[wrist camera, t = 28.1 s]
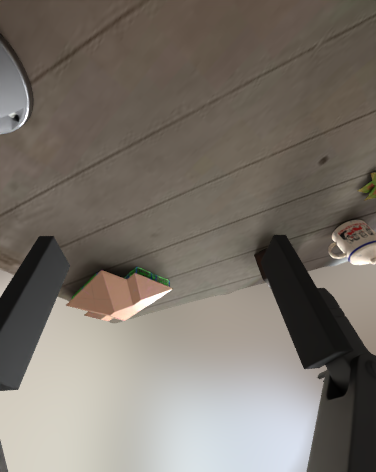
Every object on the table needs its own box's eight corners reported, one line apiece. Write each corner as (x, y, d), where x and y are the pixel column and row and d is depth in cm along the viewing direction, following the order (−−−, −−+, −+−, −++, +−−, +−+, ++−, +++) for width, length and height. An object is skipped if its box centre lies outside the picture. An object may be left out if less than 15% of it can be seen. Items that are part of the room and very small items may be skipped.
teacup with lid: (365, 213, 54) (401, 245, 46) (365, 232, 60) (396, 264, 52) (318, 232, 58) (342, 264, 50) (321, 249, 64) (344, 281, 56)
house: (66, 299, 74) (57, 322, 68) (111, 253, 58) (105, 277, 52) (122, 315, 86) (119, 335, 80) (172, 280, 70) (173, 302, 64)
